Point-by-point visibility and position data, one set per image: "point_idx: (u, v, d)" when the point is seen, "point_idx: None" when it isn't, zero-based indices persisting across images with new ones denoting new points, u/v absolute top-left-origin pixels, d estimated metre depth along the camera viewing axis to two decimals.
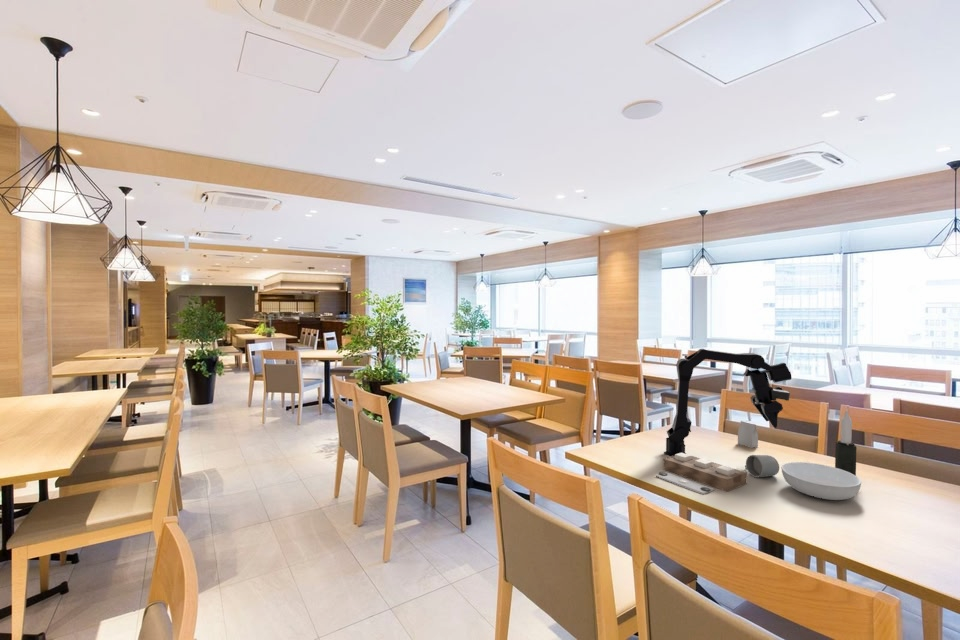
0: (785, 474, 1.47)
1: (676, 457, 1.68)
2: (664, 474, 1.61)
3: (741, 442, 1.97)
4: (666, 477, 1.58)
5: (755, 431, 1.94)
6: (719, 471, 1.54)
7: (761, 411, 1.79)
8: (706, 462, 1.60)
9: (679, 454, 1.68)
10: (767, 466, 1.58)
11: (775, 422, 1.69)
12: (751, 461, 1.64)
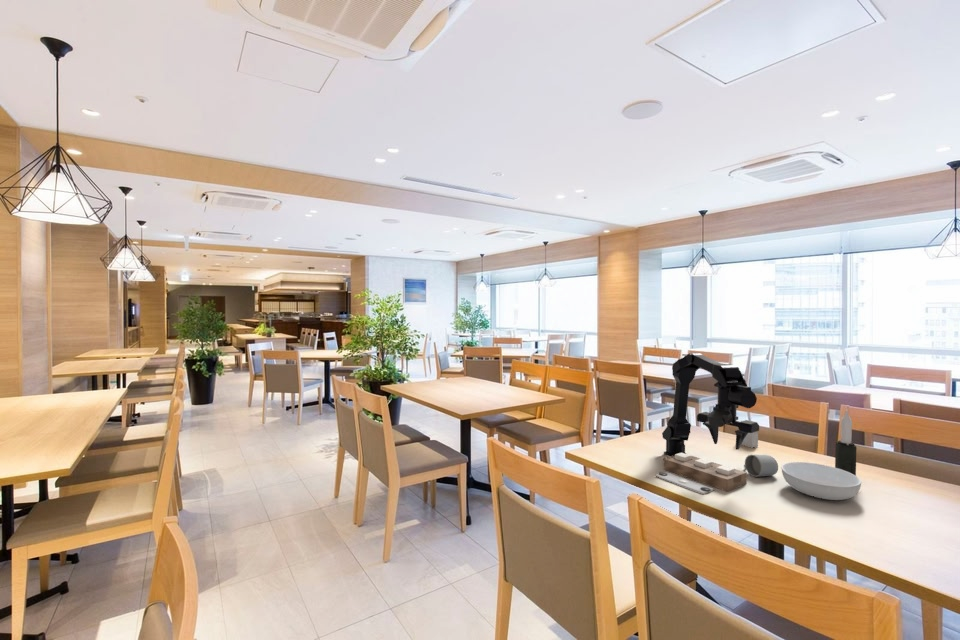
0: (785, 474, 1.47)
1: (676, 457, 1.68)
2: (664, 474, 1.61)
3: None
4: (666, 477, 1.58)
5: None
6: (719, 471, 1.54)
7: None
8: (706, 462, 1.60)
9: (679, 454, 1.68)
10: (766, 466, 1.58)
11: None
12: (750, 461, 1.65)
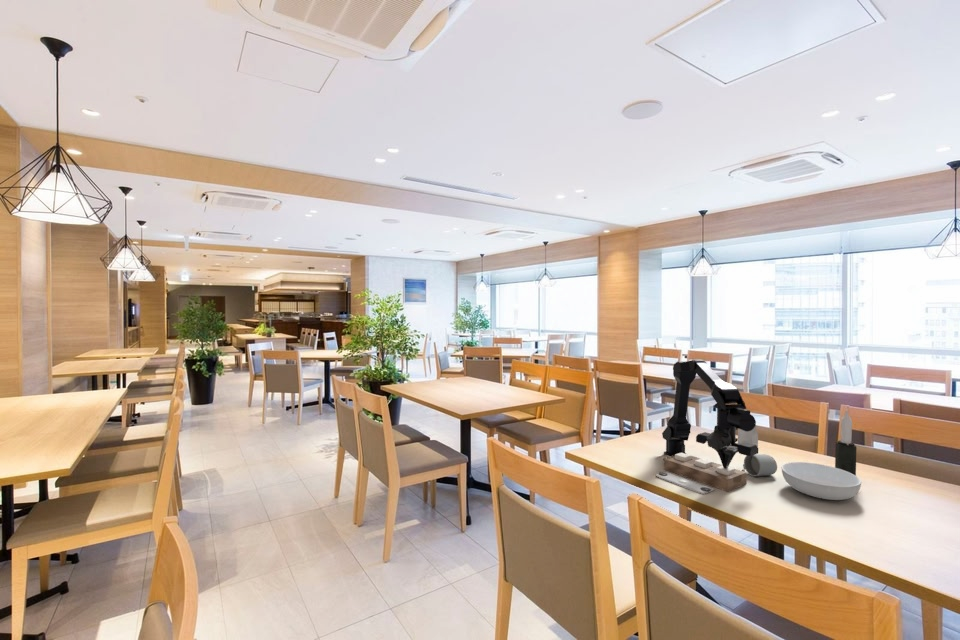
0: (785, 474, 1.47)
1: (676, 457, 1.68)
2: (664, 474, 1.61)
3: (741, 442, 1.97)
4: (666, 477, 1.58)
5: (755, 431, 1.94)
6: (719, 471, 1.54)
7: None
8: (706, 462, 1.60)
9: (679, 454, 1.68)
10: (765, 465, 1.58)
11: None
12: (749, 460, 1.65)
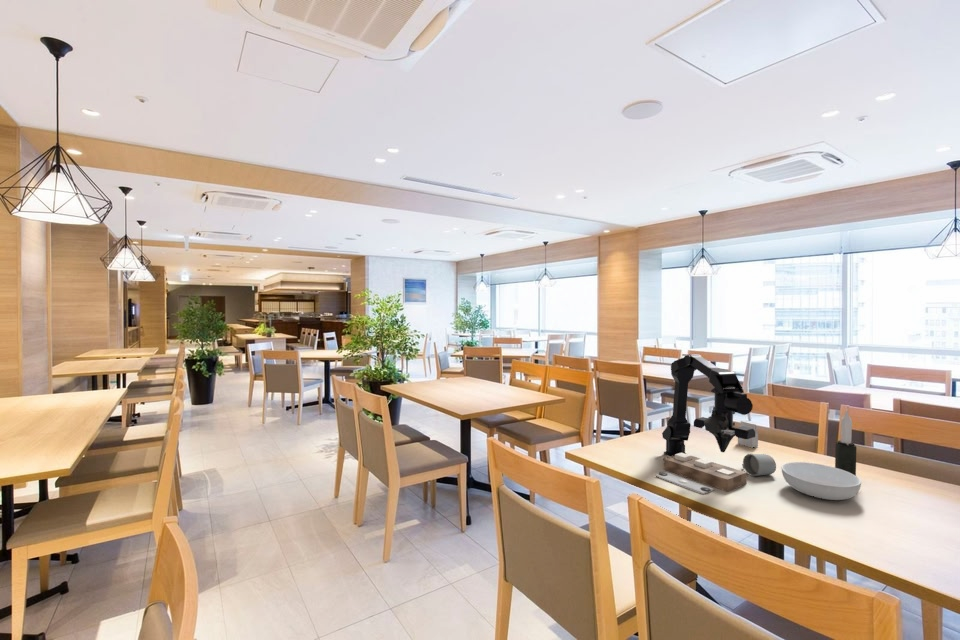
0: (785, 474, 1.47)
1: (676, 457, 1.68)
2: (664, 474, 1.61)
3: (741, 442, 1.97)
4: (666, 477, 1.58)
5: (755, 431, 1.94)
6: None
7: None
8: (706, 462, 1.60)
9: (679, 454, 1.68)
10: (764, 465, 1.59)
11: None
12: (748, 460, 1.66)
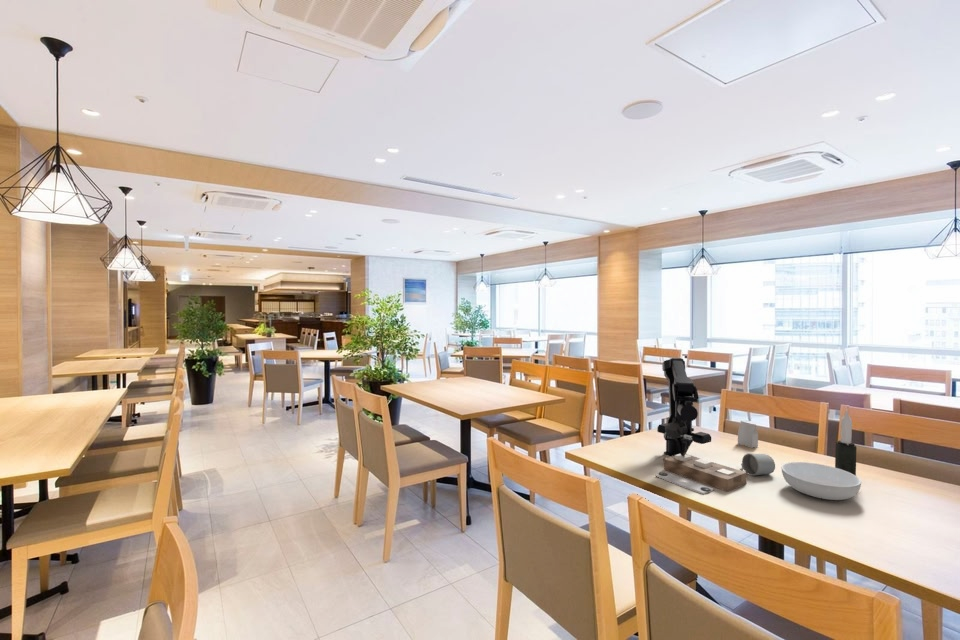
0: (785, 474, 1.47)
1: (676, 458, 1.68)
2: (664, 474, 1.61)
3: (741, 442, 1.97)
4: (666, 477, 1.58)
5: (755, 431, 1.94)
6: None
7: None
8: (706, 462, 1.60)
9: (679, 455, 1.68)
10: (763, 464, 1.59)
11: None
12: (747, 459, 1.66)
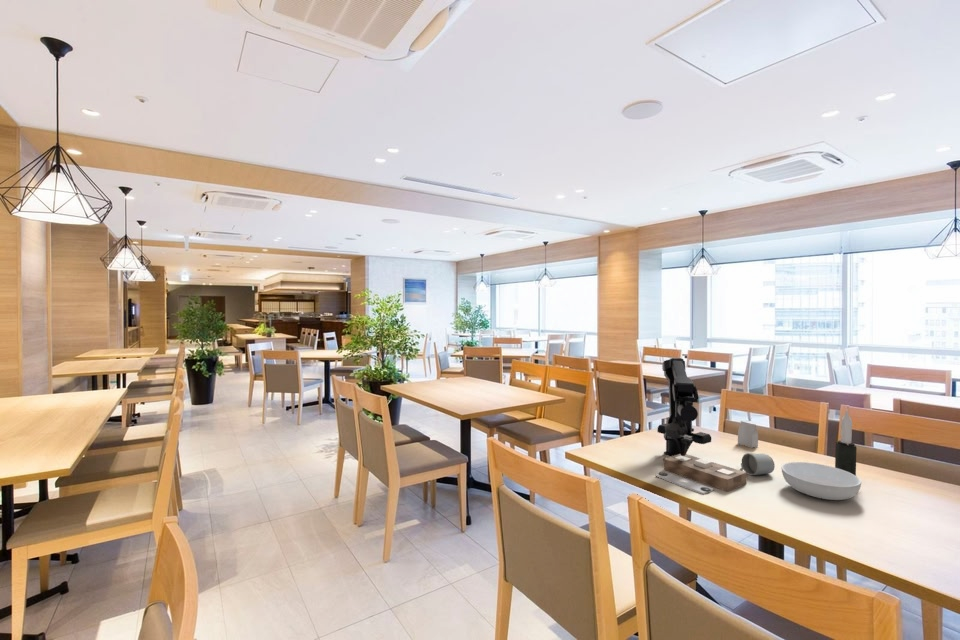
0: (785, 474, 1.47)
1: None
2: (664, 474, 1.61)
3: (741, 442, 1.97)
4: (666, 477, 1.58)
5: (755, 431, 1.94)
6: None
7: None
8: (706, 462, 1.60)
9: (679, 457, 1.68)
10: (762, 464, 1.60)
11: None
12: (747, 459, 1.66)
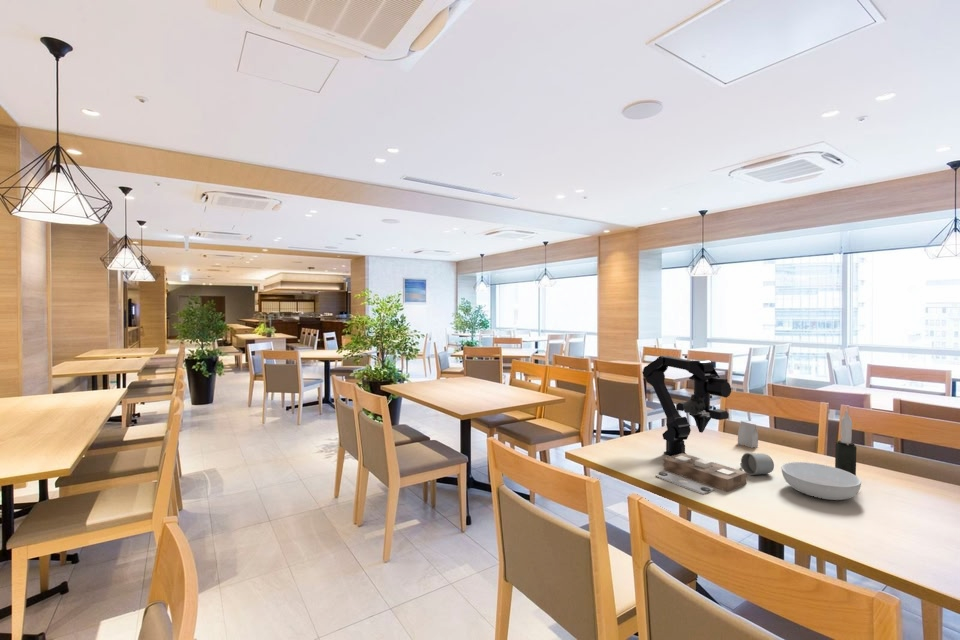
0: (785, 474, 1.47)
1: None
2: (664, 474, 1.61)
3: (741, 442, 1.97)
4: (666, 477, 1.58)
5: (755, 431, 1.94)
6: None
7: None
8: (706, 462, 1.60)
9: (679, 457, 1.68)
10: (762, 464, 1.60)
11: None
12: (746, 459, 1.67)
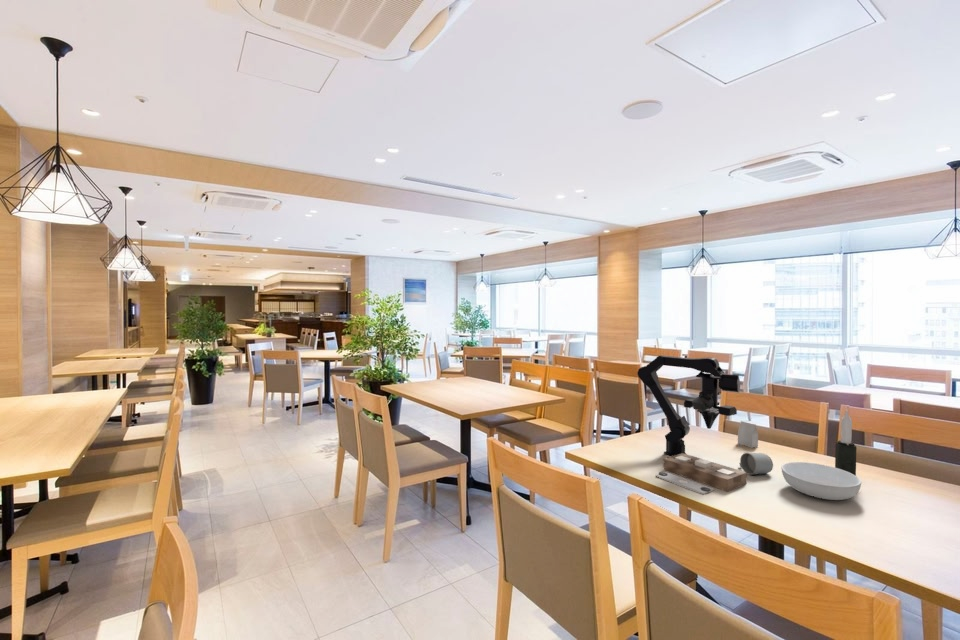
0: (785, 474, 1.47)
1: None
2: (664, 474, 1.61)
3: (741, 442, 1.97)
4: (666, 477, 1.58)
5: (755, 431, 1.94)
6: None
7: None
8: (706, 462, 1.60)
9: (679, 457, 1.68)
10: (761, 463, 1.60)
11: None
12: (745, 459, 1.67)
